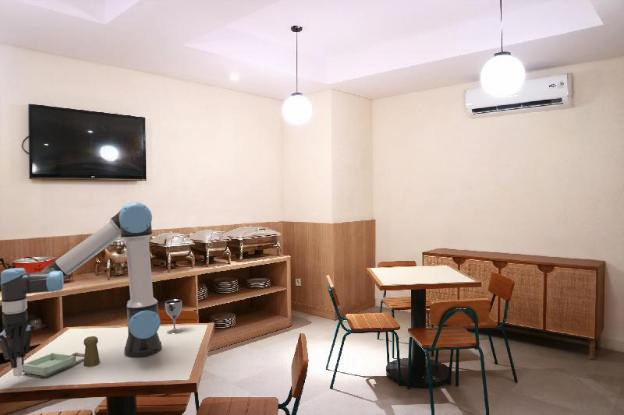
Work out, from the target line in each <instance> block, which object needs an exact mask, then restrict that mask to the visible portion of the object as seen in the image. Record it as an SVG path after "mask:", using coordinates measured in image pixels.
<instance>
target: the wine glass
mask: <svg viewBox="0 0 624 415" xmlns="http://www.w3.org/2000/svg"><path fill="white" fill-rule="evenodd" d="M164 308H165V311H166V315H168V316H169V317H170V318H171V320H172V324H173V329H169V330H167V332H166V333H167V334H169V335H172V334H173V335H174V334H179V333H182V331H183V330H182V329H180V328H176V321H177V318H178V317H179V316H180V314H181V312H182V308H183V301H182V300H181V299H170V300H166V301H165V302H164Z"/></svg>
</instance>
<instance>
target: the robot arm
mask: <svg viewBox="0 0 624 415" xmlns="http://www.w3.org/2000/svg"><path fill="white" fill-rule="evenodd" d="M152 220H153V215H152V211H151V210H150V208H149V207H147V205H145V204H143V203H142V202H137V201H136V202H135V201H134V202H129V203H127V204H125V205H124V206H122V208H121V209H120V210H119V211H118V212H117V213H116V214H115V215H113V216H112V217H111V218H110V219H109V222H108V223H107V224H105V225H104V226H103V227H101V228H100V229H98V230H97V231H95V232H94V233H92V234H91V235H89V236H88V237H87V238H85V239H84V240H83V241H81V242H80V243H78V244H77V245H75V246H74V247H73V248H71V249H70V250H69V251H67V252H66V253H65V254H63V255H61V257H58V258H57V259H56V260H55V261H53V262H52V263H51V264H49V265H47V266H46V267H44V268H43V269H41V271H40V272H31V273H30V272H27V271H26V269H25V268H24V267H20V268H18V267H15V268H13V267H12V268H8V269H4V270H2V271H1V272H0V290H1V291H0V293H1V312H2V315H1V316H2V324H3V327H2V331H1V332H0V348H1V352H2V354H3V357H4V359H6V360H10V368H12V375H13V377H21V376H23V372H22V365H23V364H24V363H25V359H24V358H25V357H26V356H27V355H26V354H29V352H30V348H31V340H32V334H33V332H34V329H35V325H31V324H29V322H28V321H27V320H28V318H29V317H28V310H27V309H28V300H27V299H28V298H27V295H28V294H30V295H31V294H38V293H40V294H42V293H49V292H50V293H53V292H58V291H62V290H63V289H64V282H65V280H64V279H65V278H66V277H67V276H69V275H71V274H73V272H75V270H77V269H79V268H80V267H81V266H83V265H84V264H85V263H87V262H88V261H90V260H91V259H92V258H94V257H96V256H97V255H98V254H99V253H101V252H102V251H103V250H105V249H107V248H108V247H109V246H110V245H112V244H113V243H115V242H116V241H118V240H119V239H120V238H121V239H122V240H123V241H124V242H125V250H126V251H125V252H126V261H127V272H128V273H127V274H128V284H129V287H128V288H129V297H130V299H129V300H128V301H127V302H126V312H127V313H126V314H127V333H128V334H127V338H126V343H125V346H124V356H126V357H129V358H143V357H148V356H151V355H154V354H155V355H156V354H157V353H159V352H161V351H162V348H163V346H162V345H163V344H162V341H161V340H160V337H159V334H158V331H159V329H160V327H161V318H160V314H159V304H158V302H159V301H158V300H157V298H155V297H154V289H153V288H154V287H153V278H152V277H153V276H152V275H153V274H152V266H151V264H152V262H151V254H150V242H149V239H150V238H151V237H153V230H152V229H153V228H152Z"/></svg>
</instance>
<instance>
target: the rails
mask: <svg viewBox="0 0 624 415" xmlns="http://www.w3.org/2000/svg"><path fill="white" fill-rule="evenodd" d="M71 355H72V356H76V357H83V358H81V359H78V360H76V364H74V365H71V366H69V367H67V368H64V369H62V370H60V371H57V372H55V373H53V374H50V375H48V376H41V375H35V374H30V373H24V372H23V376H26V377H27V376H28V377H34V378H39V379H47V378H48V377H50V376H52V375H54V374H57V373H59V372H63V371H65V370H66V369H69V368H71V367H73V366H75V365H79V364H81V363H84V355H85V353H80V352H74V353H71Z"/></svg>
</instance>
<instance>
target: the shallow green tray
mask: <svg viewBox="0 0 624 415" xmlns="http://www.w3.org/2000/svg"><path fill="white" fill-rule="evenodd" d="M76 357H77V356H72V354H65V353H57V352H51V353H48V354H46V355H43V356H40V357H38V358H34V359H32V360H30V361H27V362H24V364H23V365H22V373H23V374H24V373H30V374H35V375H41V376H48V375H50V374H53V373H55V372H57V371H60V370H62V369H64V368H67V367H69V366H71V365H74V364H76V361H77V358H76ZM76 365H77V364H76ZM74 366H75V365H74ZM71 367H72V366H71ZM69 368H70V367H69ZM67 369H68V368H67ZM60 372H61V371H60ZM57 373H58V372H57ZM55 374H56V373H55ZM53 375H54V374H53ZM50 376H51V375H50ZM48 377H49V376H48Z"/></svg>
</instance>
